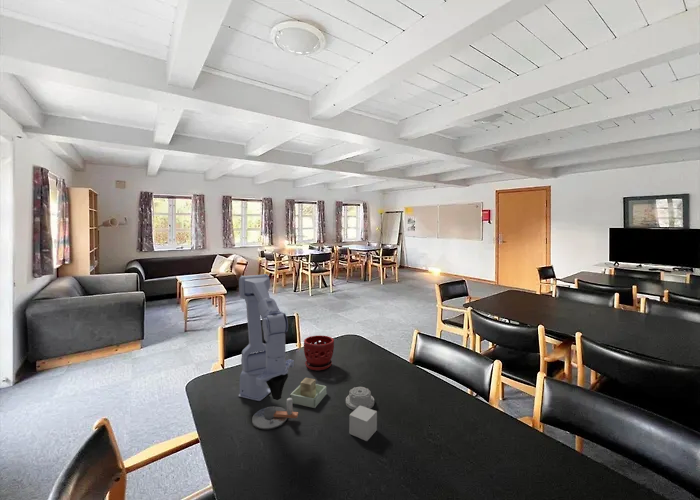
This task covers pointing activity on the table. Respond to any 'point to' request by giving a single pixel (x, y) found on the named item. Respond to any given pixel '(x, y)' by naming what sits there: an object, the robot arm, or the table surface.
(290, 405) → the crank
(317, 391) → the tray
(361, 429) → the light grey cube
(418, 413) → the table surface
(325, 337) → the plant pot
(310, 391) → the brown block
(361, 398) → the mechanical component
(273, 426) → the dial plate
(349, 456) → the table surface
